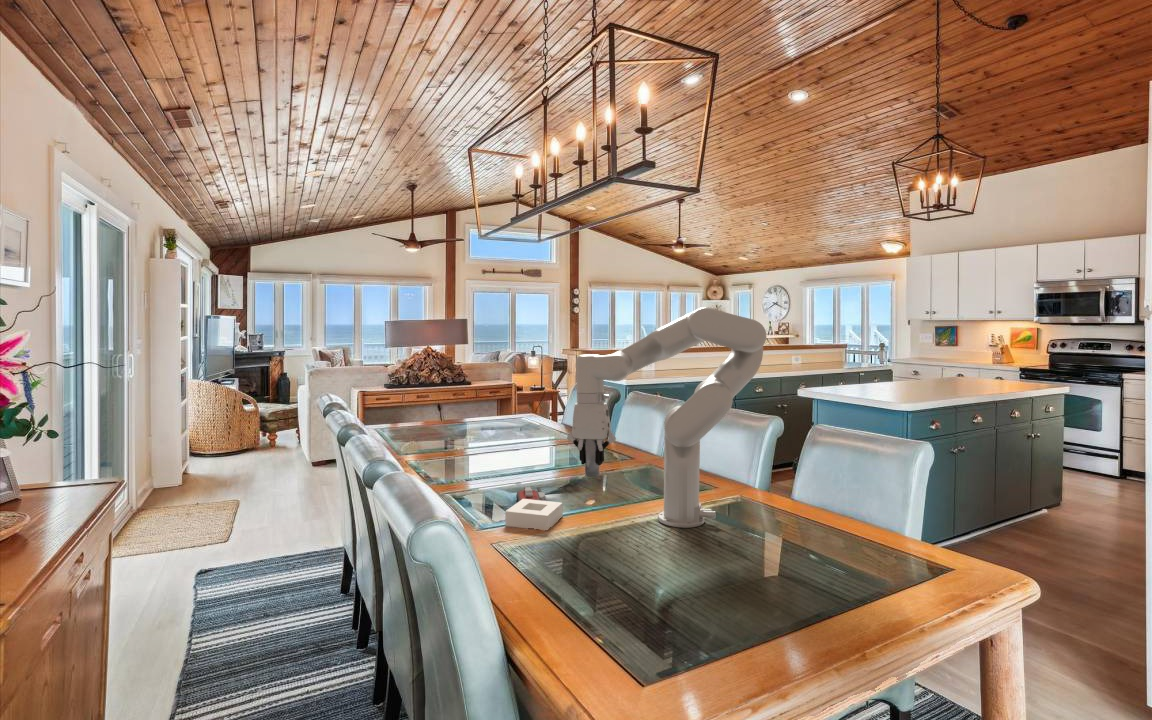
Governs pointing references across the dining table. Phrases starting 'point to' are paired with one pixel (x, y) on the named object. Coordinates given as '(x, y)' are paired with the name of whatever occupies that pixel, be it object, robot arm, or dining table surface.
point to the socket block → (534, 514)
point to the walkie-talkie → (530, 494)
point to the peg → (591, 458)
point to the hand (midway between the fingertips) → (591, 463)
